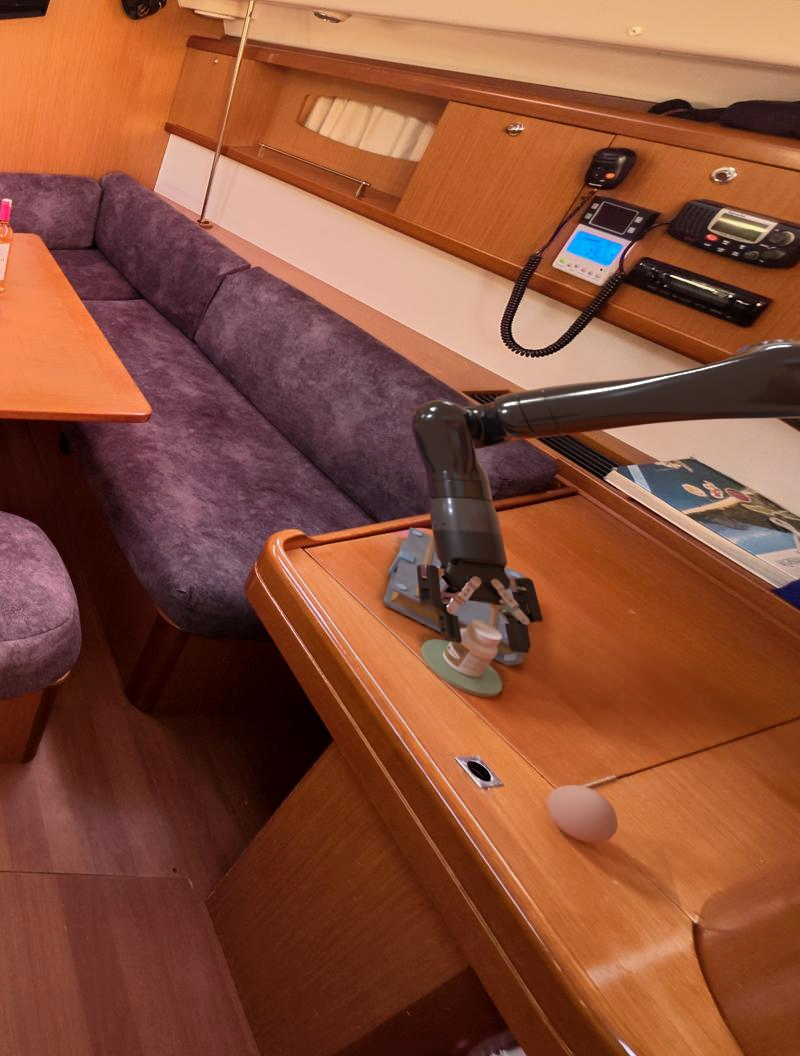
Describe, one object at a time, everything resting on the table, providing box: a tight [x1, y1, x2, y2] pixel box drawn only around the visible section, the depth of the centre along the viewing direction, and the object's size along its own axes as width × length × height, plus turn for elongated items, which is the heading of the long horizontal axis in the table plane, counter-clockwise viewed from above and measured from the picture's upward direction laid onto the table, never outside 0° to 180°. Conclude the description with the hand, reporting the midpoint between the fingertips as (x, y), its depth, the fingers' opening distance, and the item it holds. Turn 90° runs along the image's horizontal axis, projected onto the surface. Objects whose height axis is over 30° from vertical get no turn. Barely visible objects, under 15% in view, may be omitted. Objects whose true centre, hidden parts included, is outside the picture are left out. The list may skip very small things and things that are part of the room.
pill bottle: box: [443, 620, 502, 677], centre depth 91 cm, size 4×4×8 cm
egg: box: [546, 784, 618, 844], centre depth 73 cm, size 5×5×7 cm
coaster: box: [420, 638, 503, 698], centre depth 93 cm, size 9×9×1 cm
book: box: [382, 526, 527, 666], centre depth 104 cm, size 21×16×5 cm
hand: (486, 647), depth 89 cm, fingers open, 8 cm apart
